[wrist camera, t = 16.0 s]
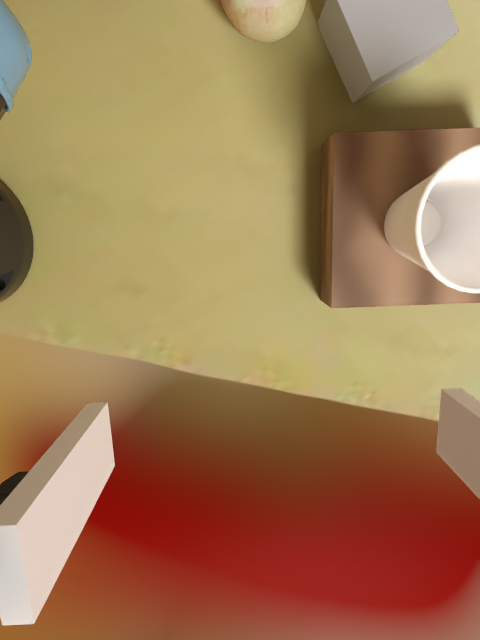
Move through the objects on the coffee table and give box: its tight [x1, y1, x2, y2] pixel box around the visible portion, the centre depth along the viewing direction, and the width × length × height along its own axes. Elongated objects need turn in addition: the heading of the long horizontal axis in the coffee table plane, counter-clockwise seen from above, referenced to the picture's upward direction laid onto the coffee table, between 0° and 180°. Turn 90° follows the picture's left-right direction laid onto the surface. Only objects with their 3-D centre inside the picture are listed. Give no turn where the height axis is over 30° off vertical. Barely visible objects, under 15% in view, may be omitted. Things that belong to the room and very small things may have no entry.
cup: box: [384, 144, 480, 293], centre depth 32 cm, size 10×10×11 cm
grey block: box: [317, 0, 459, 104], centre depth 35 cm, size 8×8×6 cm
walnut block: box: [320, 128, 480, 308], centre depth 39 cm, size 16×16×5 cm
